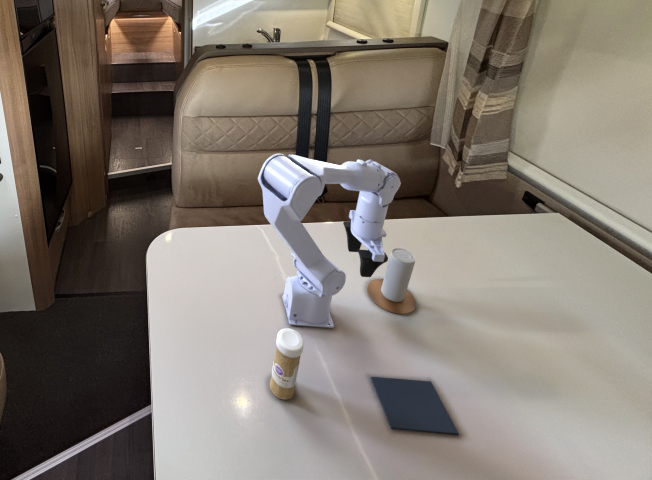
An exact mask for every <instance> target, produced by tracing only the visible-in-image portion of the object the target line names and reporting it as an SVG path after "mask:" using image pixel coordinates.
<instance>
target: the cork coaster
mask: <svg viewBox="0 0 652 480" xmlns="http://www.w3.org/2000/svg"><path fill="white" fill-rule="evenodd" d="M383 280H384V278H375V279H373V280H371V281H369V283H368V285H367V288H366V289H367V294H368V297H369V298H370V300H372V301H373V303H374V304H375V305H376V306H378V307H379V308H380V309H382V310H384V311H387V312H389V313H392V314H394V315H402V316H403V315H409V314H411V313H413V312H414V311H415V309H416V307H417V302H416V299H415V297H414V295H413V294H412V293H411V292H410V291H409V290H408V289H407V291H406V294H405V297H404V300H403V301H401V302H393V301H390V300H389V299H387V298H386V297H385V296H384V295H383V294H382V292H381V287H382V284H383Z"/></svg>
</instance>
